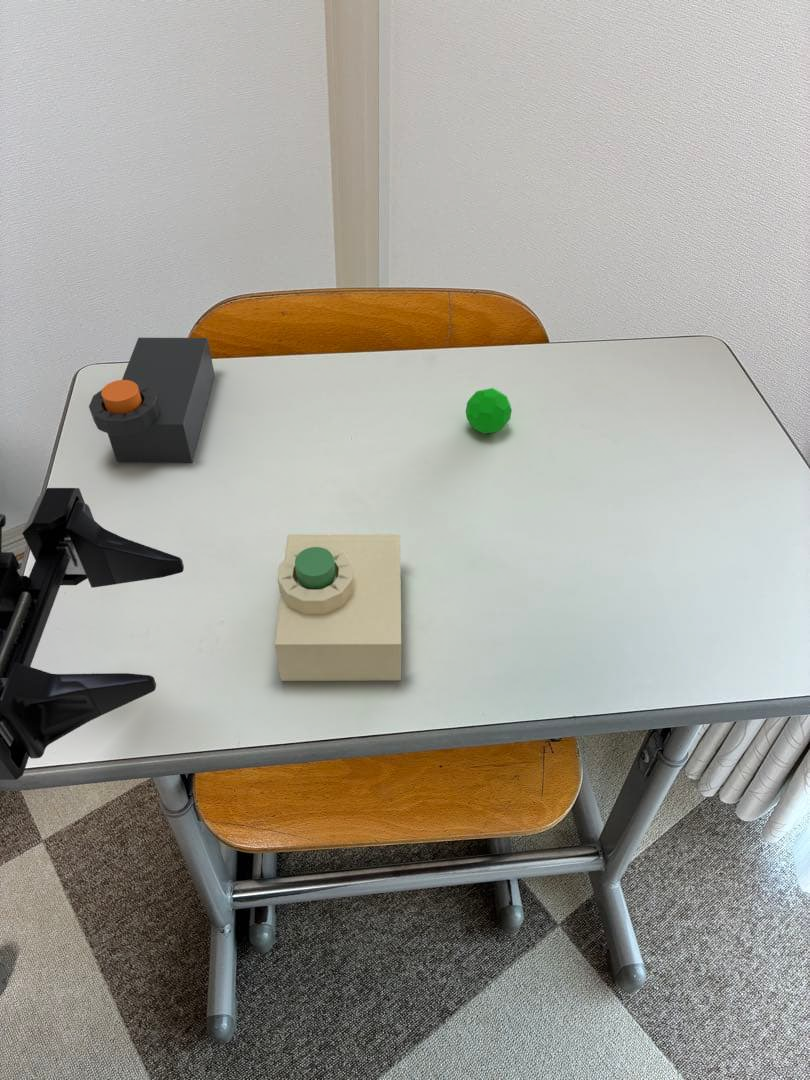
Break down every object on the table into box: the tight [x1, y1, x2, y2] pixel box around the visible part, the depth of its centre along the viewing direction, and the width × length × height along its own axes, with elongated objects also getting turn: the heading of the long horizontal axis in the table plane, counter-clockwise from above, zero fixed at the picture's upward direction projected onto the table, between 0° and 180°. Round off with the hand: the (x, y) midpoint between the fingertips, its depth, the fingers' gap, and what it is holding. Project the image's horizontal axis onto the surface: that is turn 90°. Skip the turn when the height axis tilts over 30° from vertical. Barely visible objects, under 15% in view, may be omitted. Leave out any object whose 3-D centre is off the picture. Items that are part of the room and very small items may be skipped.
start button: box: [101, 379, 142, 414], centre depth 80 cm, size 4×4×2 cm
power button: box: [295, 547, 335, 589], centre depth 65 cm, size 3×3×2 cm
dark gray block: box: [88, 337, 215, 464], centre depth 87 cm, size 9×18×7 cm, turn 1°
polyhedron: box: [465, 387, 513, 435], centre depth 88 cm, size 5×5×5 cm
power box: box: [274, 534, 402, 682], centre depth 68 cm, size 10×12×7 cm
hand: (169, 620), depth 50 cm, fingers open, 9 cm apart
